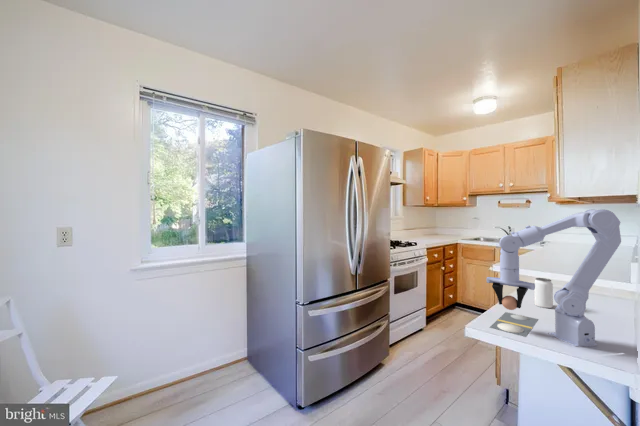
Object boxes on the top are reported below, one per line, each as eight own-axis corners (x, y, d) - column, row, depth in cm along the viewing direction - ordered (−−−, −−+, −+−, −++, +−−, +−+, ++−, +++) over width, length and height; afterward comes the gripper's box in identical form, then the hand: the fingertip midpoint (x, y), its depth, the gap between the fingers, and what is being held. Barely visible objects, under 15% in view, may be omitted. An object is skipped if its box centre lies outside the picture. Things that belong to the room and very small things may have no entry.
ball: (521, 311, 99) (521, 297, 99) (508, 312, 98) (508, 298, 98) (510, 306, 104) (510, 293, 104) (498, 307, 103) (498, 294, 103)
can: (556, 309, 121) (556, 281, 121) (539, 308, 122) (539, 280, 122) (547, 304, 127) (547, 277, 127) (531, 303, 129) (531, 277, 129)
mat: (525, 338, 94) (525, 336, 94) (489, 328, 102) (489, 327, 102) (538, 320, 109) (538, 318, 109) (505, 313, 117) (505, 311, 117)
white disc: (529, 332, 98) (529, 331, 98) (508, 333, 97) (508, 333, 97) (511, 323, 106) (511, 322, 106) (492, 324, 105) (492, 323, 105)
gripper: (536, 269, 99) (537, 307, 99) (490, 264, 109) (490, 298, 109) (532, 272, 94) (532, 312, 94) (484, 266, 104) (484, 303, 104)
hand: (509, 305), depth 101 cm, fingers closed on ball, 5 cm apart
